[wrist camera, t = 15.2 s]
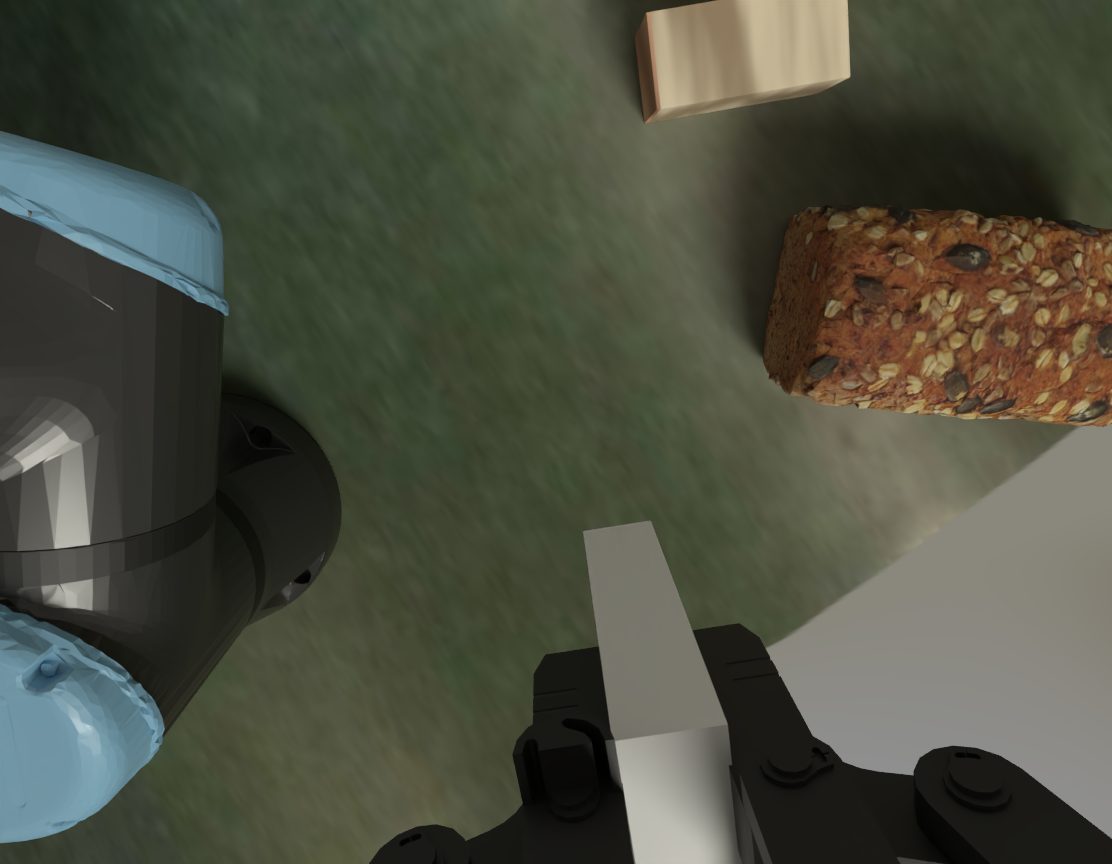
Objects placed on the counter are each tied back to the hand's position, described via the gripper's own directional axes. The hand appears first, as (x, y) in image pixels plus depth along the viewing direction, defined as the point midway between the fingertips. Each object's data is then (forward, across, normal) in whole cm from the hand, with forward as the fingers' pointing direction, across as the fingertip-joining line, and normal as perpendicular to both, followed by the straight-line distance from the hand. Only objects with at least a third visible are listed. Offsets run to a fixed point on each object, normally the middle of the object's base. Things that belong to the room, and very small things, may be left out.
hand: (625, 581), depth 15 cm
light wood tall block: (+27, +6, +15) cm, 32 cm away
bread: (+30, +22, 0) cm, 37 cm away
